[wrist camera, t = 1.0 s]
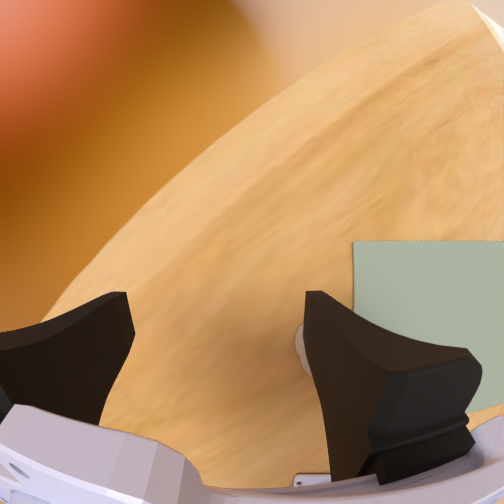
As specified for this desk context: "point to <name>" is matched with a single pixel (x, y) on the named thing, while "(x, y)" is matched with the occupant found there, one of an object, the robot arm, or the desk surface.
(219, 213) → the desk surface
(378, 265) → the mat
